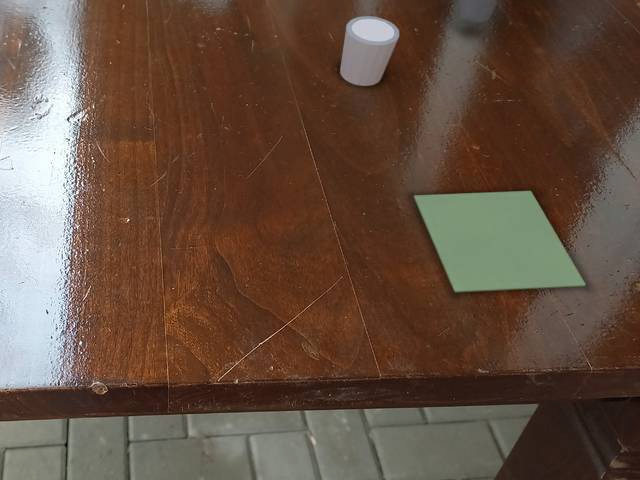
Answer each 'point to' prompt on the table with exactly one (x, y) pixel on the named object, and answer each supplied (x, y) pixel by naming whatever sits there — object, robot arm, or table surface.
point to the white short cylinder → (367, 49)
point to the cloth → (496, 242)
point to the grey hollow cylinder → (476, 10)
